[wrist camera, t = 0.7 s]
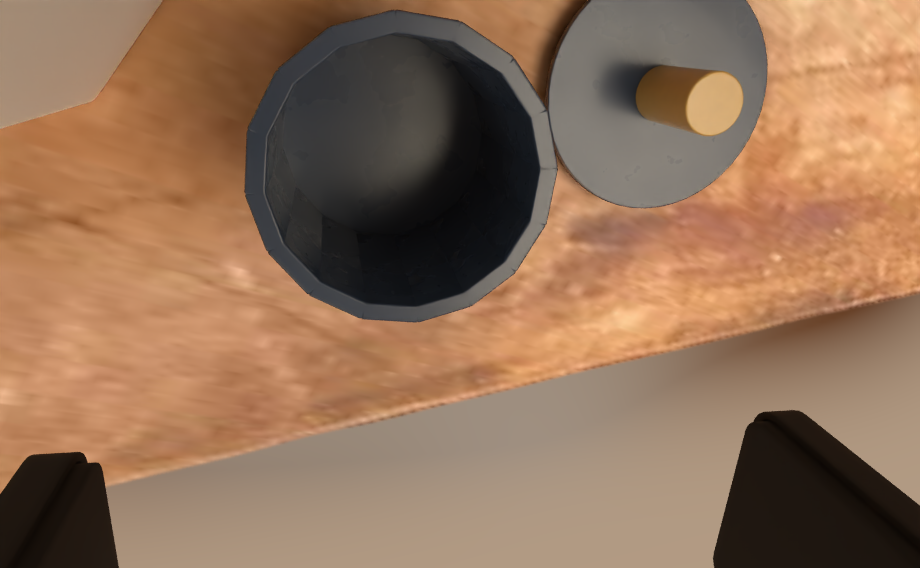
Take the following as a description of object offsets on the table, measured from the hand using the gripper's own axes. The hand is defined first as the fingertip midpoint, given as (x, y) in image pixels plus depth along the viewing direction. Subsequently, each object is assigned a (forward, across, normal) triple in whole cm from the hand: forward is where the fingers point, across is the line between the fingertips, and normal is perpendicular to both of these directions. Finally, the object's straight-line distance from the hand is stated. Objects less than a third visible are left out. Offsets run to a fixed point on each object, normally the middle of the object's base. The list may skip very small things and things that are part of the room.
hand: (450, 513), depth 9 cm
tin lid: (+24, -15, -4) cm, 29 cm away
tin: (+25, -1, -2) cm, 25 cm away
